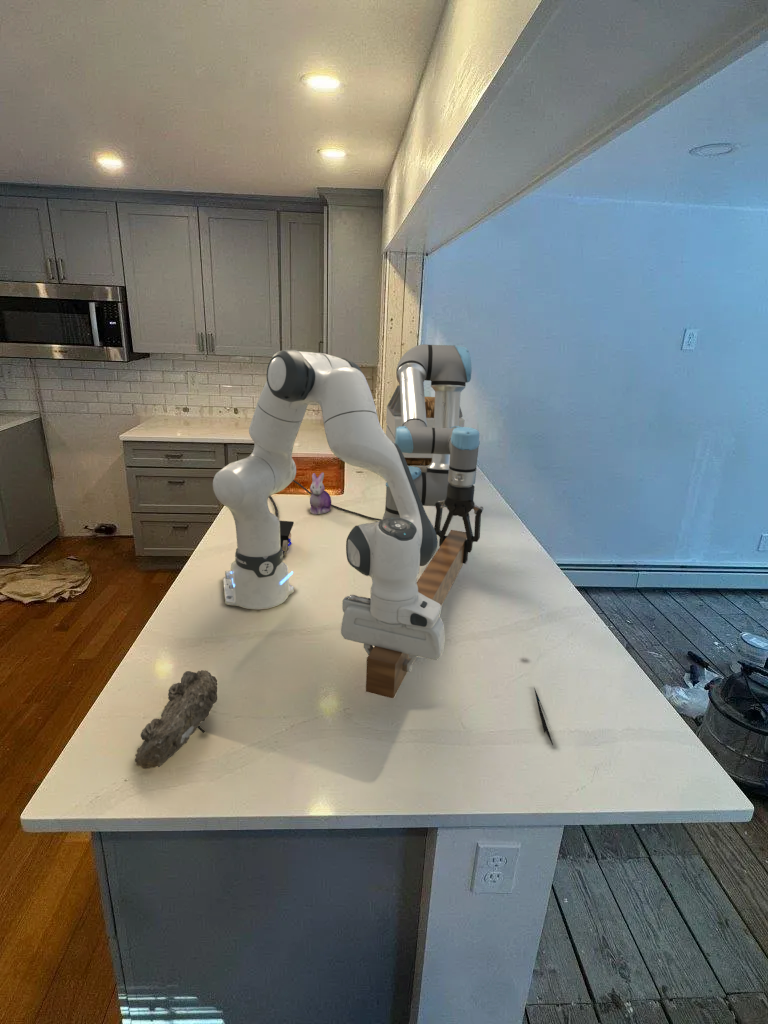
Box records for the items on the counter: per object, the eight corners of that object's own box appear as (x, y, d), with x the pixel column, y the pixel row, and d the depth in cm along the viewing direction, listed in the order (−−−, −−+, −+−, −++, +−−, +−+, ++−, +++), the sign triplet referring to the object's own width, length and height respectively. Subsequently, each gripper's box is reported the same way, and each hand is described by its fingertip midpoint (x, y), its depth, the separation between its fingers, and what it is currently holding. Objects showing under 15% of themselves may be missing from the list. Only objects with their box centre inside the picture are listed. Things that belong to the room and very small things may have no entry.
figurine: (313, 516, 212) (313, 478, 207) (304, 507, 221) (303, 470, 215) (336, 513, 216) (337, 475, 211) (326, 505, 225) (327, 468, 220)
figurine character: (288, 562, 177) (294, 539, 190) (288, 541, 173) (294, 518, 187) (267, 561, 177) (274, 538, 190) (266, 540, 173) (273, 518, 187)
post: (449, 552, 172) (451, 529, 169) (467, 555, 170) (469, 532, 168) (365, 691, 108) (366, 657, 105) (393, 698, 106) (395, 664, 104)
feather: (525, 664, 131) (530, 658, 130) (552, 749, 104) (559, 742, 103) (519, 660, 130) (524, 654, 130) (545, 745, 104) (552, 738, 103)
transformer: (382, 463, 289) (386, 382, 275) (445, 464, 293) (451, 384, 279) (390, 482, 257) (394, 392, 243) (460, 483, 261) (468, 394, 247)
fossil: (167, 671, 114) (219, 638, 109) (200, 702, 116) (252, 671, 112) (109, 762, 94) (169, 727, 89) (151, 796, 97) (212, 765, 92)
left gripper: (336, 600, 107) (335, 662, 112) (441, 622, 101) (435, 687, 105) (349, 586, 113) (347, 645, 117) (449, 606, 106) (444, 668, 111)
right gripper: (425, 482, 157) (419, 558, 165) (492, 492, 151) (483, 570, 159) (432, 476, 164) (427, 549, 172) (497, 485, 158) (488, 560, 166)
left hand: (390, 665), depth 111 cm, fingers closed on post, 5 cm apart
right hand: (454, 559), depth 166 cm, fingers closed on post, 6 cm apart
